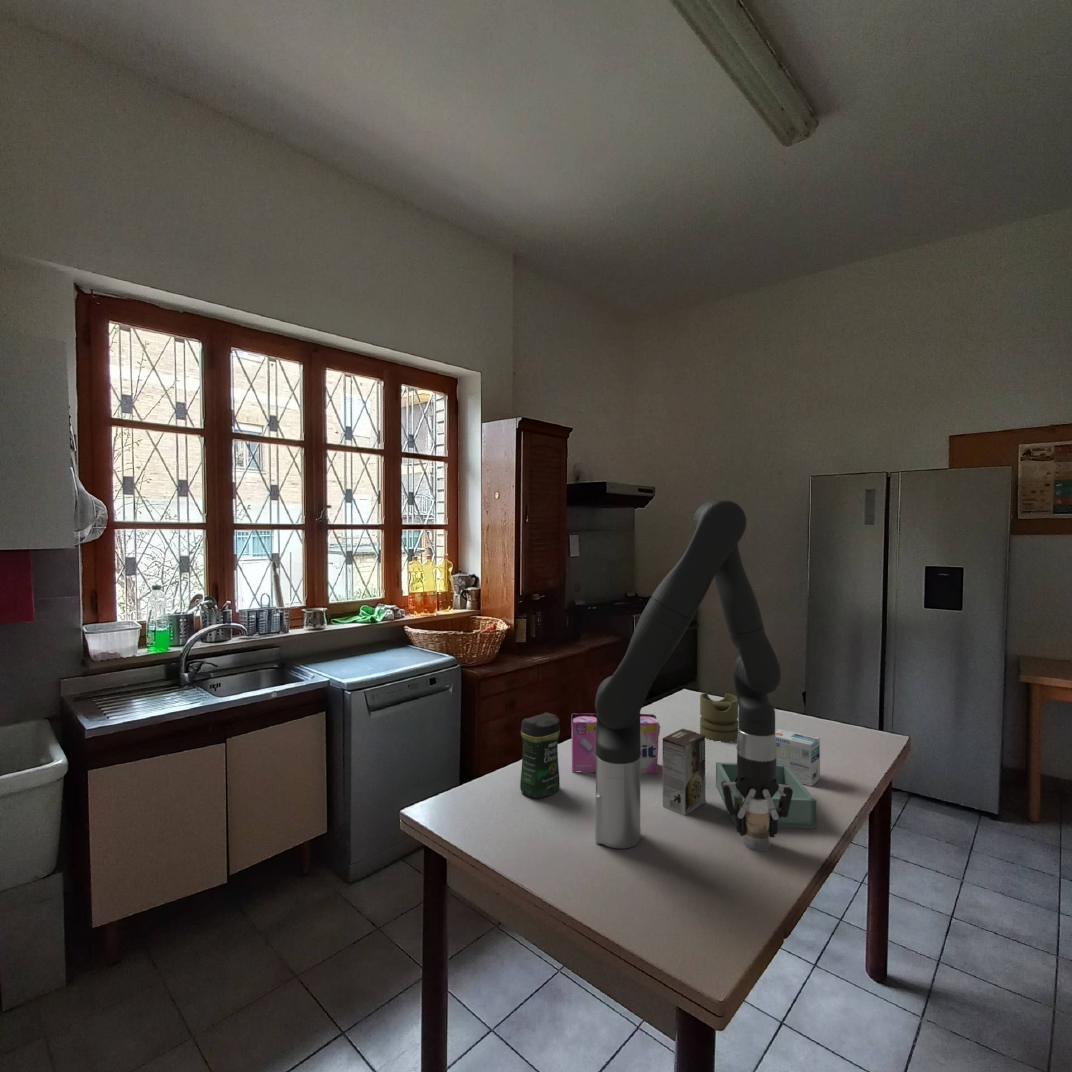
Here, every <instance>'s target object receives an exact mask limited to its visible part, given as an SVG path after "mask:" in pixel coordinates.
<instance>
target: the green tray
mask: <svg viewBox="0 0 1072 1072" xmlns="http://www.w3.org/2000/svg"><path fill="white" fill-rule="evenodd" d="M736 777H737V762H717V761H716V762H715V786H716V789H717V791H718V793H719V796H720V797H721V800H722V801H723V803H724V805H725V800H724V795H723V790H722V786H721V782H722V781H726V782H727V783H730V782H735V779H736ZM776 780H777V783H778V784H782V785H783V784H788V785H789V786H790V787H791V789H792V790H793V794H792V798H791V803H790V807H789V812H788V816H787V817H780V818H778V827H779V828H796V829H801V828H802V829H817V799H815V798H814V796H813V795H812V793H810V792H809V790H808V789H807V788H806V787H805V784H802V783H801V782H800V781H799V779H798V778H797V777H796V776H795V775H794V773H793V772H792V771H791V770H790V768H789V767H788V766H787V765H776ZM739 796H740V792H739V791H738V789H737V788H735V789H734V793H733V794H731V797H732V801H733V806H735V807H736V805H737V803H738V798H739ZM780 796H781V795H780V793H779V790H778V791H777V792H776V793H775V794H774V796H773V797H772V798H771V799H772V801H773V803H774V806H775V809H776V808H778V805H779V801H780ZM725 807H726V805H725ZM729 816H730V818H731V821H732V823H733V824H734V826H735V815H730V814H729ZM778 827H777V828H778ZM797 827H798V828H797Z"/></svg>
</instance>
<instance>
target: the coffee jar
mask: <svg viewBox="0 0 1072 1072" xmlns="http://www.w3.org/2000/svg"><path fill="white" fill-rule="evenodd" d="M560 723H561V722H560V719H559V717H558V715H556V714H553V713H550V712H544V713H541V714H538V715H534V716H532V717H527V718H523V720H522V721H521V728H520V735H521V738H522V757H521V758H522V760H521V771H520V781H519V782H520V784H519V788H520V789H519V790H520V791H521V792H522V793H523V794H524V795H526V796H527V795H528V797H530V796H531V797H532V798H537V799H538V798H540V797H541V798H544V797H546V796H549V794H550V795H551V794H554V793H556V792H558V790H560V788H561V787H560V786H561V785H560V783H561V782H560V779H561V778H560V767H559V754H558V753H559V751H558V742H559V738H560V732H561V727H560V725H561V724H560Z"/></svg>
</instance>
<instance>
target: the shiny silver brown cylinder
mask: <svg viewBox="0 0 1072 1072" xmlns="http://www.w3.org/2000/svg"><path fill="white" fill-rule="evenodd" d="M748 800H749V808H748V809H746V812H745V815H744V819H745V834H744V836H742V844H743V845H744V846H745V847H746V848H747V849H750V850H752V851H756V852H766V851H768V850H769V849H770V848H771V837H770V810H769V800H765V798H753V799H748ZM743 801H744V797H743Z"/></svg>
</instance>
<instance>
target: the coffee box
mask: <svg viewBox="0 0 1072 1072" xmlns="http://www.w3.org/2000/svg"><path fill="white" fill-rule="evenodd" d="M706 801H707V800H706V739H705V735H702V734H700V733H698V732H695V731H693V730H691V729H690V730H689V729H686V728H681V729H678V730H677V731H675V732H673V733H671V734H668V735H666V736H664V737H663V738H662V807H664V808H666V809H668V810H672V811H674V812H676V813H678V814H681V815H683V816H687V815H689V814H690V813H691V812H693V811H694V810H695V809H697V808H699V807H700V806H702V805H703V804H704V803H706Z"/></svg>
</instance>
